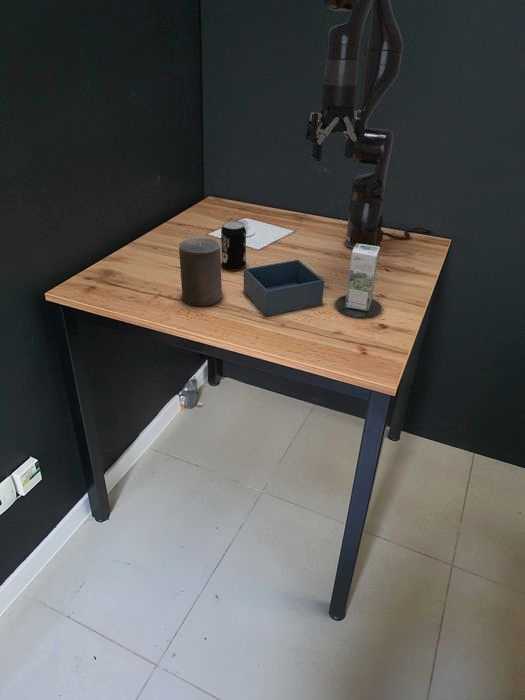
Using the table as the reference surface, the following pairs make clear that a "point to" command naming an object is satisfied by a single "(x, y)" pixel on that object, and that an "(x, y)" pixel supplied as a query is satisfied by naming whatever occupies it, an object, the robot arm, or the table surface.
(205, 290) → the pillar candle
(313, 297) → the bin
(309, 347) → the table surface
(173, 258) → the table surface
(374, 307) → the coaster
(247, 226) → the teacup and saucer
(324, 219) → the table surface
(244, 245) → the beverage can
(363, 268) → the syrup box
